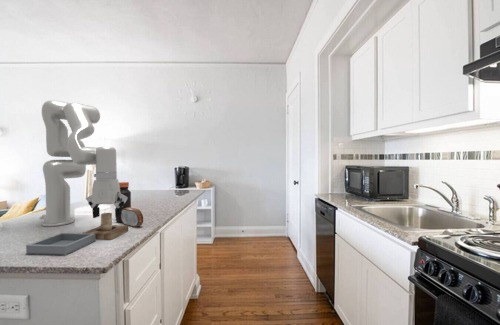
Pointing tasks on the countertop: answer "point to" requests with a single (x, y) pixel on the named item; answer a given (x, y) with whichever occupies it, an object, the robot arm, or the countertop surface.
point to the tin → (132, 217)
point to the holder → (108, 232)
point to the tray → (60, 244)
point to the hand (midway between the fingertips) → (107, 217)
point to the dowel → (106, 221)
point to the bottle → (127, 193)
